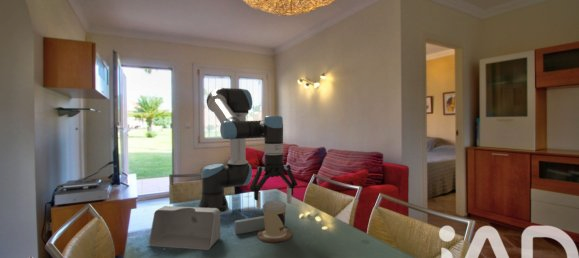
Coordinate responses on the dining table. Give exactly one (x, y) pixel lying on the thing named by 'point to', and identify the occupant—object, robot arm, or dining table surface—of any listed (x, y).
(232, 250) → the dining table surface
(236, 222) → the grey wall
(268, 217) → the coffee cup
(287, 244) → the dining table surface
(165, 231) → the white open storage bin
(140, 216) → the dining table surface
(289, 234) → the walnut mat
